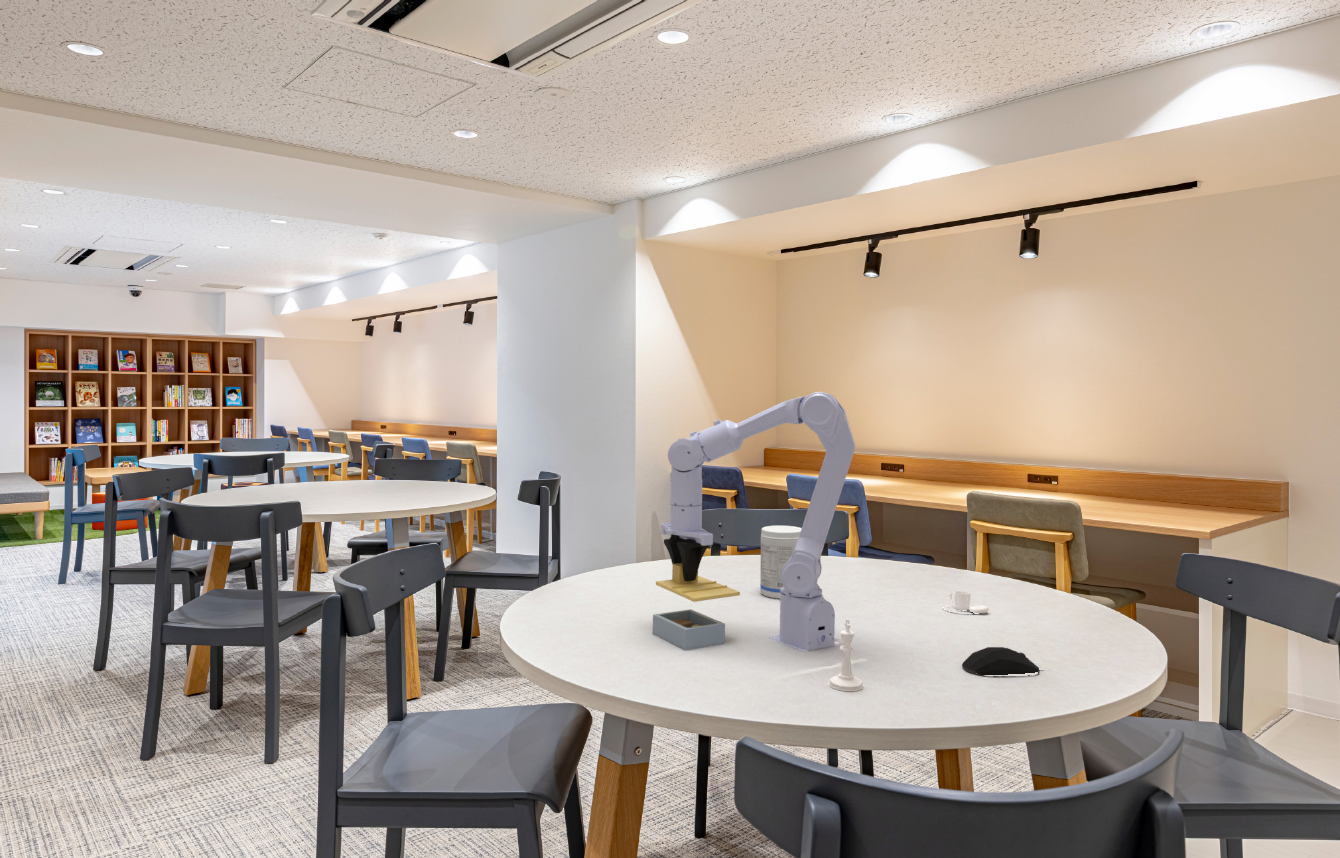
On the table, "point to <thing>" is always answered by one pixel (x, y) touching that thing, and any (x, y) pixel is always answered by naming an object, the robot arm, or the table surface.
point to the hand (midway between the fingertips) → (685, 579)
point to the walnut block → (683, 623)
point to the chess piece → (846, 665)
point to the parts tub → (689, 629)
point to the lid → (695, 587)
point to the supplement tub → (775, 556)
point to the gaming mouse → (999, 662)
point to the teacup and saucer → (966, 602)
